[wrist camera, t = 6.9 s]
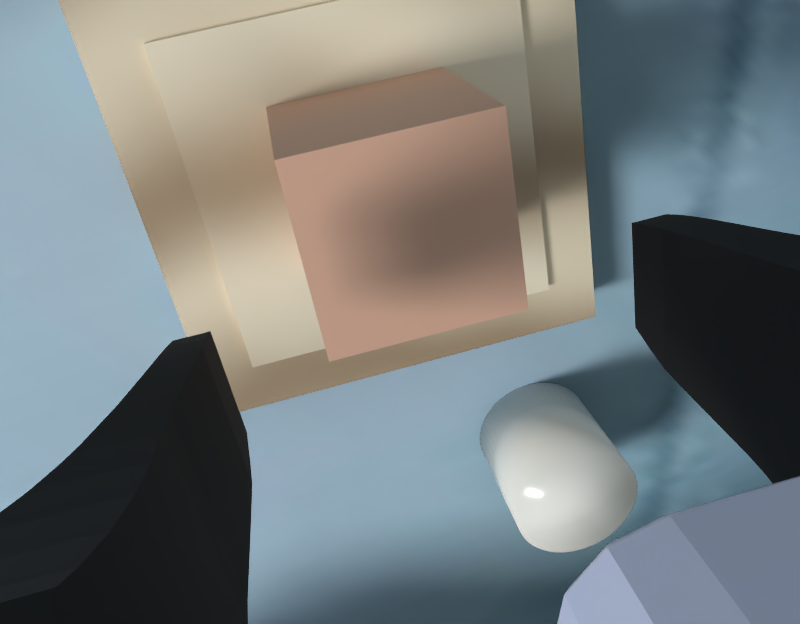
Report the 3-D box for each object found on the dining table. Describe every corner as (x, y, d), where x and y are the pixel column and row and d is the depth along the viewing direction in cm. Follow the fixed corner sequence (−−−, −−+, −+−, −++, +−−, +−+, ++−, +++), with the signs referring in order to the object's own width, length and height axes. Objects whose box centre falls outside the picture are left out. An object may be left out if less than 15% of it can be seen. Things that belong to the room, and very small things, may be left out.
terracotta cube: (466, 231, 20) (528, 309, 16) (309, 270, 20) (329, 361, 16) (441, 66, 18) (505, 105, 14) (265, 107, 18) (274, 160, 14)
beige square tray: (576, 295, 24) (598, 319, 23) (218, 390, 23) (217, 422, 22) (543, -119, 18) (570, -124, 17) (67, -16, 18) (50, -13, 16)
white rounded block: (588, 457, 28) (639, 532, 24) (487, 486, 27) (523, 566, 24) (581, 369, 26) (635, 437, 22) (472, 399, 25) (509, 472, 22)
